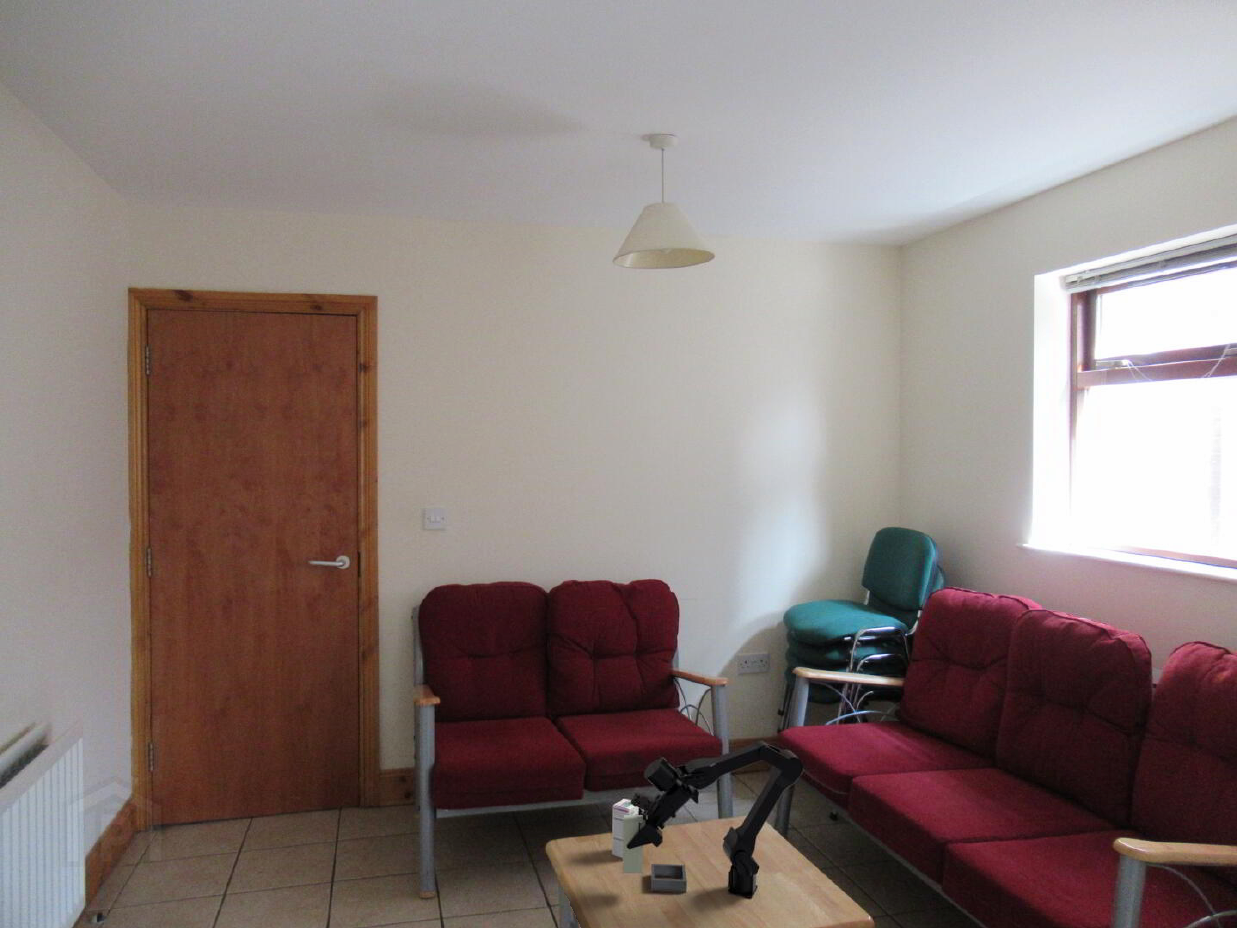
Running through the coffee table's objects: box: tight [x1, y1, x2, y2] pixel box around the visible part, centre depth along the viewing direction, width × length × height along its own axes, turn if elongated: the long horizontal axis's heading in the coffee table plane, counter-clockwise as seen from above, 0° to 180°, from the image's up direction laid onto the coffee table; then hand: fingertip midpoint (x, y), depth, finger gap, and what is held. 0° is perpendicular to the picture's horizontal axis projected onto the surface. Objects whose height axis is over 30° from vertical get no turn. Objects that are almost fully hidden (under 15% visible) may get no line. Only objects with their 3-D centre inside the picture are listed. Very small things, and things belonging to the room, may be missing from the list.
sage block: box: [622, 815, 644, 875], centre depth 232 cm, size 5×5×13 cm
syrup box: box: [611, 798, 639, 859], centre depth 254 cm, size 6×6×14 cm
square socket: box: [650, 863, 688, 894], centre depth 238 cm, size 9×9×3 cm
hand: (627, 843), depth 232 cm, fingers closed on sage block, 5 cm apart
